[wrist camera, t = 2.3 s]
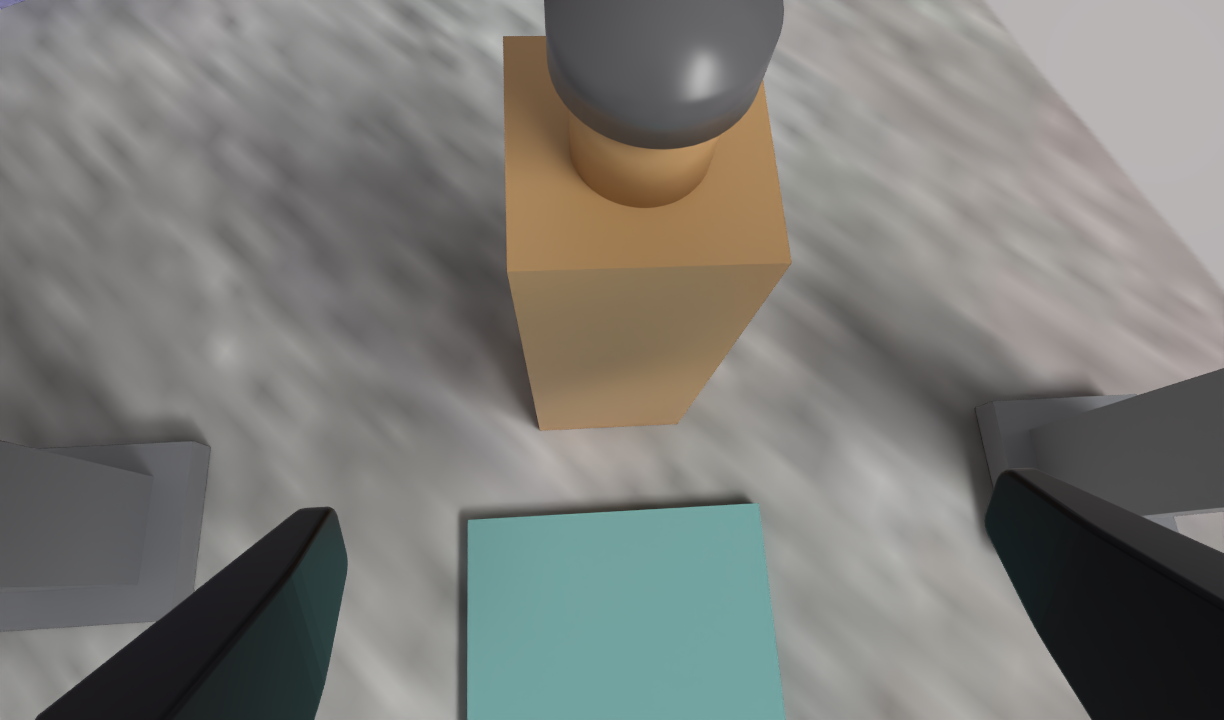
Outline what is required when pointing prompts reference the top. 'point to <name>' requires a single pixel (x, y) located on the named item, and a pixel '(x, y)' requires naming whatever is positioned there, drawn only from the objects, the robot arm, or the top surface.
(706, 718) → the mat
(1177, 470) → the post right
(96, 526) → the post
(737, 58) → the bottle
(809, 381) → the top surface
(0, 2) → the computer part
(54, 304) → the top surface
